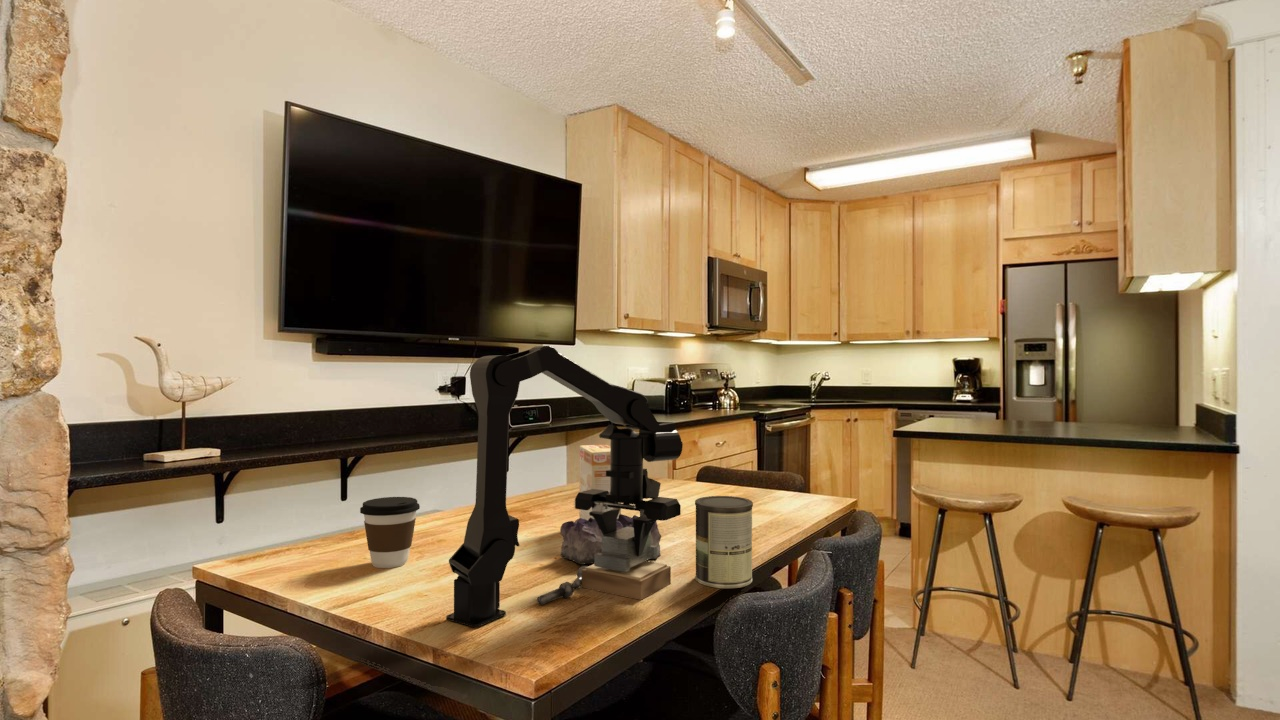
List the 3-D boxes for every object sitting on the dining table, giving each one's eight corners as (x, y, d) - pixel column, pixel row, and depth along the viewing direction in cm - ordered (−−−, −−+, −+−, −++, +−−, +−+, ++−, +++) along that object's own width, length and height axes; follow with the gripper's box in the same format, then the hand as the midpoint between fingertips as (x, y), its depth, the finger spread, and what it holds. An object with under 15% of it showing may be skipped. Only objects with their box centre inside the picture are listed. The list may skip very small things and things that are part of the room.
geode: (649, 547, 146) (653, 501, 145) (668, 569, 135) (672, 520, 134) (554, 551, 139) (558, 503, 138) (567, 575, 128) (570, 523, 127)
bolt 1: (539, 609, 109) (548, 606, 108) (535, 594, 110) (544, 591, 108) (566, 597, 114) (575, 594, 112) (561, 583, 114) (570, 580, 113)
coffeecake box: (622, 539, 151) (622, 451, 151) (590, 541, 149) (590, 452, 150) (607, 524, 166) (607, 443, 166) (578, 526, 164) (578, 444, 164)
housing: (626, 572, 113) (626, 541, 113) (594, 566, 117) (594, 536, 117) (657, 557, 122) (657, 529, 122) (627, 552, 125) (627, 524, 126)
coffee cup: (431, 561, 134) (431, 500, 134) (383, 575, 125) (383, 509, 125) (395, 553, 140) (396, 494, 140) (347, 565, 131) (347, 502, 131)
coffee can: (683, 580, 122) (683, 501, 122) (715, 567, 130) (715, 493, 130) (733, 593, 115) (733, 509, 116) (763, 578, 123) (763, 500, 124)
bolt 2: (582, 590, 117) (583, 576, 117) (568, 588, 117) (569, 574, 117) (590, 579, 123) (591, 566, 123) (577, 578, 123) (578, 564, 123)
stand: (640, 599, 112) (640, 578, 112) (581, 587, 118) (581, 567, 118) (670, 583, 120) (670, 564, 120) (613, 572, 127) (613, 554, 127)
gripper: (695, 462, 121) (695, 551, 121) (608, 455, 131) (607, 537, 131) (664, 470, 112) (664, 566, 112) (573, 461, 122) (572, 550, 121)
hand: (626, 553), depth 119 cm, fingers closed on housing, 5 cm apart
